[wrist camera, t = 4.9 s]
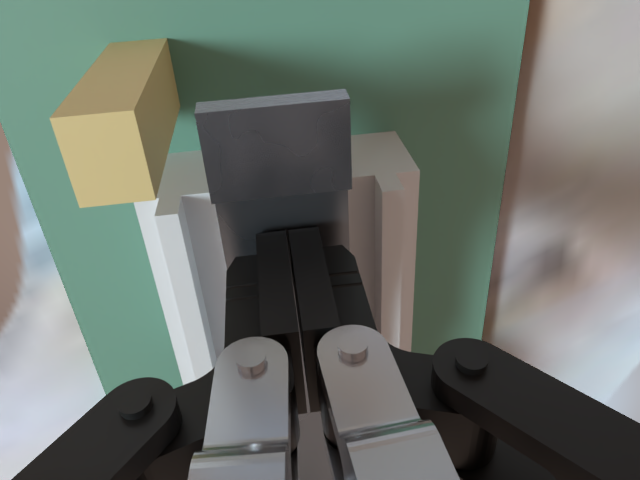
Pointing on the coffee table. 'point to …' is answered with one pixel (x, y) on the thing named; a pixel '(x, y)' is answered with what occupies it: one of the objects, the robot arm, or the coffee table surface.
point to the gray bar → (280, 189)
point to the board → (269, 59)
